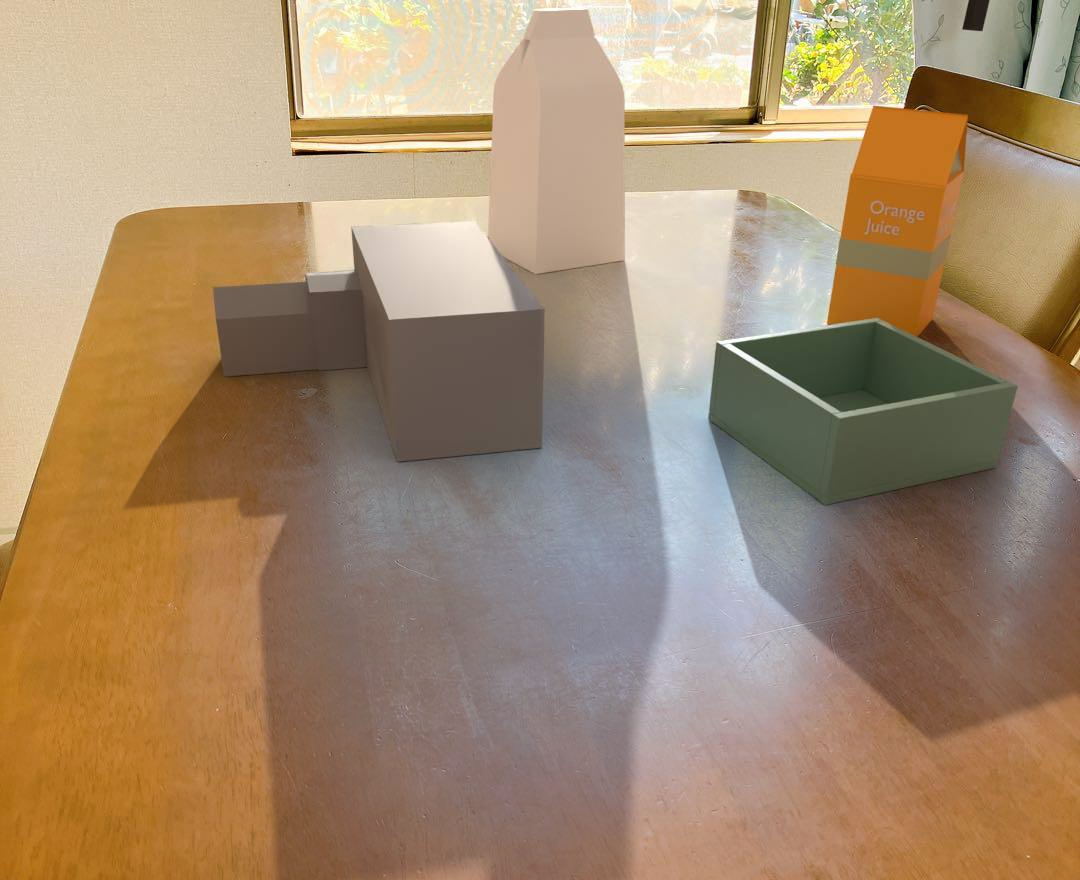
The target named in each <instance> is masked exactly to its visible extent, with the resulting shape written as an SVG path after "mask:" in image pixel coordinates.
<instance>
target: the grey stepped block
mask: <svg viewBox="0 0 1080 880" xmlns="http://www.w3.org/2000/svg"><path fill="white" fill-rule="evenodd" d="M350 228H351V242H352V254H353V255H352V256H353V257H352V258H353V269H347V270H328V271H327V270H326V271H312V272H311V271H309V272H304V278H305V281H295V282H281V283H279V282H278V283H261V284H243V285H228V286H214V287H213V286H212V294H213V305H214V314H215V315H214V316H215V323H216V330H217V337H218V344H219V350H220V359H221V365H222V373H223V377H224V378H225V377H237V376H239V377H240V376H249V375H250V376H252V375H263V374H264V375H265V374H277V373H289V372H302V371H303V372H304V371H317V370H318V371H332V370H345V369H346V370H347V369H359V368H360V369H361V368H366V369H367V372H368V374H369V378H370V381H371V384H372V387H373V390H374V394H375V396H376V399H377V403H378V406H379V409H380V413H381V416H382V418H383V421H384V425H385V428H386V431H387V435H388V439H389V441H390V445H391V446H392V450H393V453H394V456H395V459H396V463H397V462H398V463H399V462H408V461H410V462H411V461H419V460H430V459H440V458H450V457H459V456H460V457H462V456H470V455H480V454H482V455H483V454H493V453H501V452H513V451H521V450H531V449H542V448H543V419H544V418H543V416H544V414H543V413H544V363H545V362H544V360H545V315H546V314H545V313H546V312H545V311H546V309H545V308H544V306H543V305H542V304H541V302H540V301H539V300H538V299H537V298H536V296H535V295H534V293H533V292H532V291H531V290H530V289H529V287H528V286H527V284H525V282H524V281H523V280H522V279H521V277H520V276H519V274H517V272H516V271H515V270H514V269H513V267H512V266H511V265H510V263H509V262H508V260H507V259H506V258H504V257H503V256H502V255H501V253H500V252H499V251H498V250H497V248H496V247H495V246H494V245H493V243H492V242H491V241H490V239H489V238H488V235H487V234H486V233H485V232H484V231H483V229H482V228H481V226H480V225H479V224H478V223H477V222H476V220H457V221H455V220H454V221H437V222H417V223H416V222H415V223H414V222H413V223H398V224H397V223H395V224H374V225H354V226H350Z"/></svg>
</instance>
